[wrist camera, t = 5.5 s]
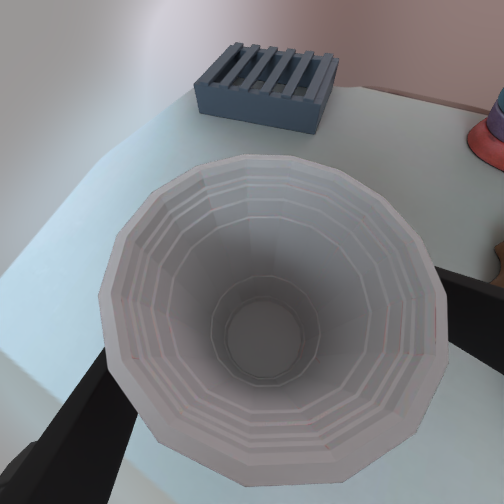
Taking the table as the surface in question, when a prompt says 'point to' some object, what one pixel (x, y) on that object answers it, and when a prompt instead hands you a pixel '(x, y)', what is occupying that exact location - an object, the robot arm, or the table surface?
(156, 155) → the table surface
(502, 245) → the plant
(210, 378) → the plastic cup
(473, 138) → the stacking bear
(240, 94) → the dish rack
